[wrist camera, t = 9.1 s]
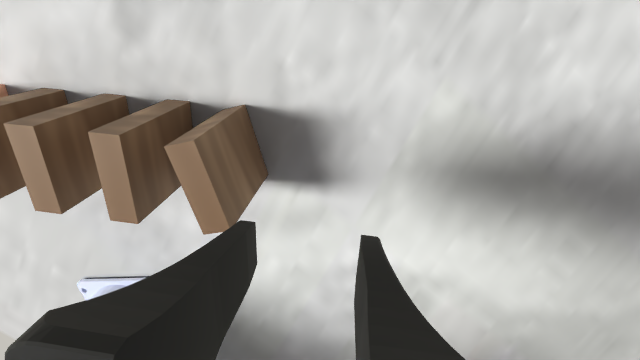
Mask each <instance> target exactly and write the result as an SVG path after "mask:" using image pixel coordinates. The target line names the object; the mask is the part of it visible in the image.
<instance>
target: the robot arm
mask: <svg viewBox="0 0 640 360" xmlns="http://www.w3.org/2000/svg"><path fill="white" fill-rule="evenodd" d="M256 265H257V251H256V227H255V222H250V221H241V220H240V221H239V222H237V223H236V224H234V225H233V226H231V227H230V228H229V229H227V230H226V231H224V232H223V233H222V234H220V235H219V236H217V237H216V238H214V239H213V240H212V241H210V242H209V243H207V244H206V245H204V246H203V247H201V248H200V249H198V250H196V251H195V252H193V253H192V254H190V255H188V256H187V257H185V258H184V259H182V260H180V261H179V262H177V263H175V264H173V265H171V266H170V267H168V268H166V269H164V270H162V271H160V272H158V273H156V274H154V275H152V276H149V277H147V278H111V279H81V280H80V281H79V282H78V283H77V286H78V288H79V290H80V292H81V293H82V295H83V297H84V299H85V300H86V301H82V302H79V303H75V304H72V305H68V306H64V307H61V308H57V309H53V310H49V311H48V312H47V313H45V314H44V315H43V316H42V317H41V318H40V319H39V320H38V321H37V322H36V323H34V324H33V325H32V326H31V327H30V328H29V329H28V330H27V331H26V332H25V333H23V334H22V335H21V336H20V337H19V338H18V339H17V340H16V341H15V342H14V343H13V344H11V345H10V346H9V347H8V349H7V351H6V352H5V360H215V359H216V356H217V354H218V351H219V348H220V346H221V344H222V341H223V339H224V337H225V335H226V333H227V331H228V329H229V327H230V325H231V323H232V321H233V319H234V317H235V315H236V313H237V311H238V309H239V307H240V305H241V303H242V301H243V299H244V297H245V294H246V292H247V290H248V288H249V286H250V283H251V280H252V278H253V275H254V272H255V269H256ZM354 310H355V343H356V360H465V359H464V358H463V357H462V356H461V355H460V354H459V353H458V352H457V351H456V350H454V349H453V348H452V347H451V346H450V345H449V344H448V343H447V342H446V341H445V340H444V339H443V338H442V337H441V336H440V334H439V333H438V332H437V331H436V330H435V329H434V328H433V327H432V326H431V325H430V324H429V322H428V321H427V320H426V319H425V318H424V316H423V315H422V314H421V313H420V311H419V310H418V309H417V307H416V306H415V305H414V303H413V302H412V300H411V299H410V297H409V296H408V295H407V293H406V291H405V290H404V288H403V287H402V285H401V283H400V282H399V280H398V278H397V276H396V275H395V273H394V271H393V269H392V267H391V265H390V263H389V261H388V259H387V257H386V255H385V252H384V250H383V247H382V244H381V241H380V239H379V238H378V237H374V236H366V235H361V242H360V250H359V258H358V266H357V274H356V285H355V298H354Z"/></svg>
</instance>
